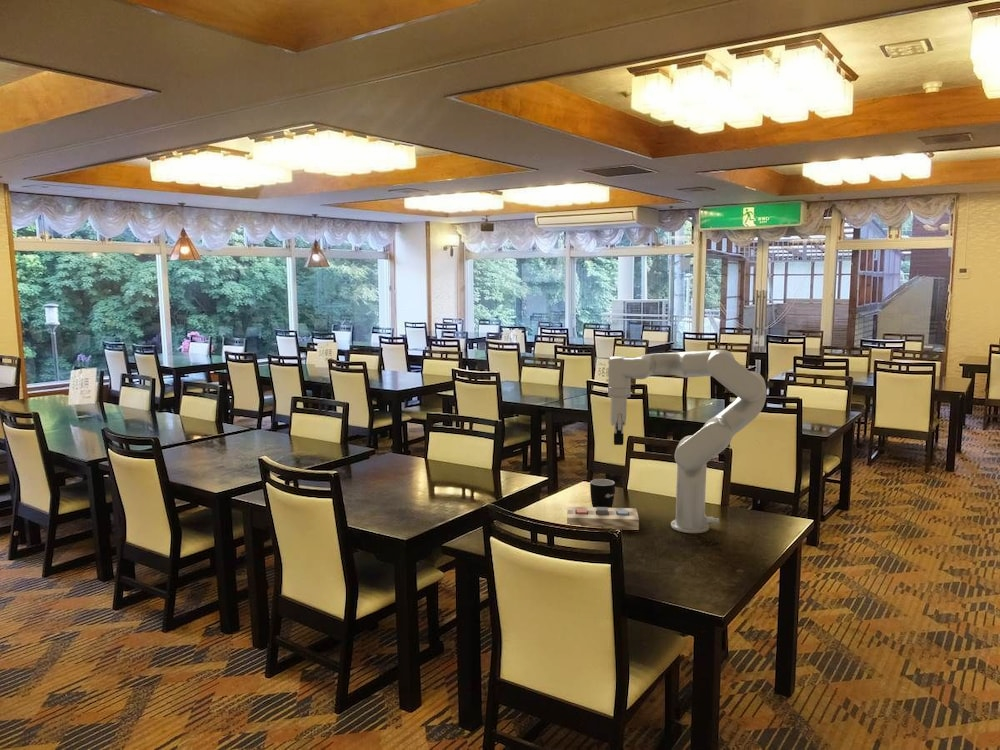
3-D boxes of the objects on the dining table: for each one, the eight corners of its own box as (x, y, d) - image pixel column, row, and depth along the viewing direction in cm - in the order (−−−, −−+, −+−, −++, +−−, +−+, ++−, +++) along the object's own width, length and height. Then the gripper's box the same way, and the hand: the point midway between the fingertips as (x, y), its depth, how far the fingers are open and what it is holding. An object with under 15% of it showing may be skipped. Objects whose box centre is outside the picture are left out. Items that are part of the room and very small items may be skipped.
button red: (586, 516, 252) (587, 509, 251) (587, 520, 248) (587, 512, 248) (576, 516, 252) (576, 508, 252) (576, 519, 249) (576, 511, 248)
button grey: (607, 514, 251) (607, 507, 251) (607, 518, 247) (607, 510, 247) (596, 514, 251) (596, 506, 251) (597, 518, 248) (597, 510, 247)
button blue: (627, 517, 250) (627, 510, 250) (628, 521, 247) (628, 513, 246) (617, 517, 251) (617, 509, 250) (617, 521, 247) (617, 513, 247)
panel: (635, 519, 254) (636, 508, 254) (638, 531, 242) (638, 519, 242) (567, 517, 257) (567, 506, 256) (566, 528, 245) (567, 517, 245)
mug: (605, 514, 260) (605, 487, 259) (585, 509, 266) (585, 482, 265) (624, 506, 268) (624, 480, 267) (604, 501, 275) (604, 475, 273)
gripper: (607, 388, 256) (606, 439, 258) (609, 395, 241) (608, 449, 243) (628, 388, 255) (628, 439, 257) (632, 395, 240) (631, 449, 243)
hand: (618, 444), depth 250 cm, fingers closed
